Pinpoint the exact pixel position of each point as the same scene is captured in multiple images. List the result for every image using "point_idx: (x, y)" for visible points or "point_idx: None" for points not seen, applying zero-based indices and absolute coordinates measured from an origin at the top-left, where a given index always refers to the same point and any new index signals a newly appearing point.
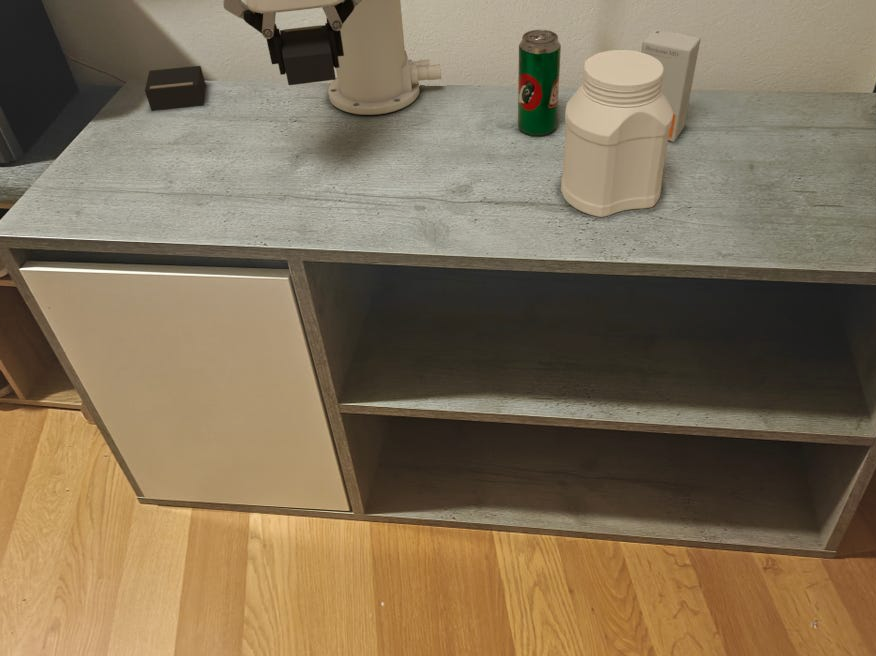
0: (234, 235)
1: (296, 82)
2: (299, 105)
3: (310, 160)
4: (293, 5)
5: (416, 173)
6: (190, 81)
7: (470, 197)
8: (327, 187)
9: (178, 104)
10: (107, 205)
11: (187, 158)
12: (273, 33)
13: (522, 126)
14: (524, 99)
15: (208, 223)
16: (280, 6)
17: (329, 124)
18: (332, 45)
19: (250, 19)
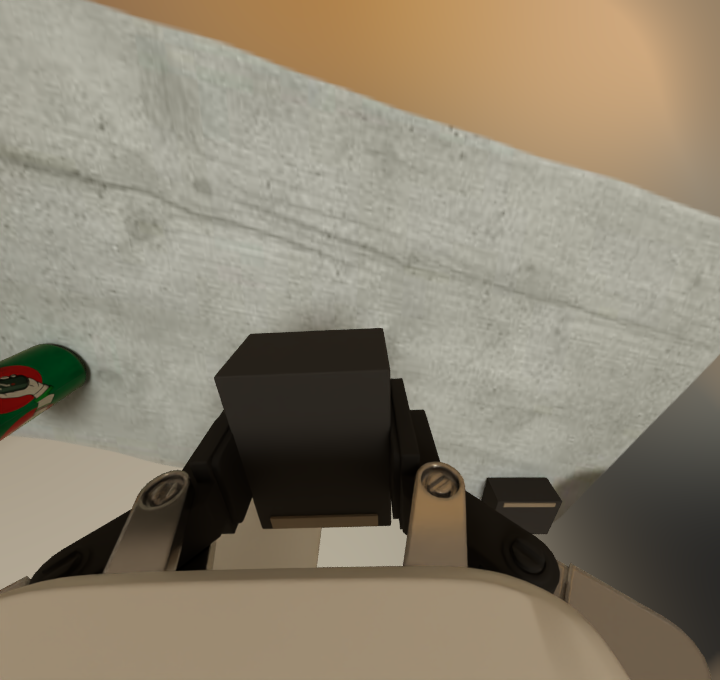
0: (495, 167)
1: (359, 331)
2: None
3: None
4: (275, 607)
5: (218, 287)
6: (505, 508)
7: (124, 202)
8: (347, 276)
9: (516, 481)
10: (653, 292)
11: (525, 380)
12: (417, 478)
13: (69, 359)
14: (22, 381)
15: (528, 213)
16: (367, 609)
17: None
18: (223, 426)
19: (521, 549)
